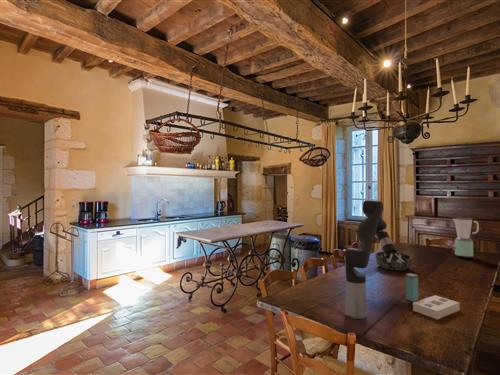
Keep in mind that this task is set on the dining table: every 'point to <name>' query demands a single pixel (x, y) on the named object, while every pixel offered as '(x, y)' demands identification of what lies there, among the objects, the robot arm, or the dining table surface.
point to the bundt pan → (393, 262)
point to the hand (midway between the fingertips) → (398, 269)
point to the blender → (464, 237)
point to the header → (436, 307)
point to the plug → (411, 287)
